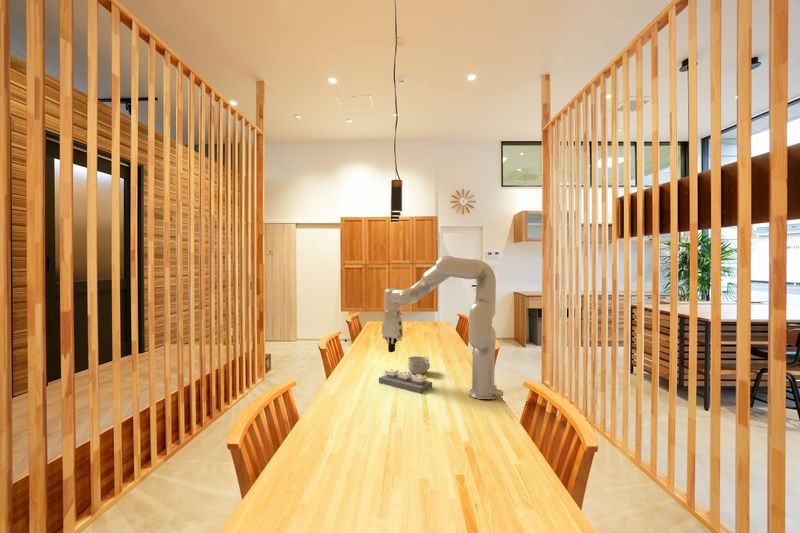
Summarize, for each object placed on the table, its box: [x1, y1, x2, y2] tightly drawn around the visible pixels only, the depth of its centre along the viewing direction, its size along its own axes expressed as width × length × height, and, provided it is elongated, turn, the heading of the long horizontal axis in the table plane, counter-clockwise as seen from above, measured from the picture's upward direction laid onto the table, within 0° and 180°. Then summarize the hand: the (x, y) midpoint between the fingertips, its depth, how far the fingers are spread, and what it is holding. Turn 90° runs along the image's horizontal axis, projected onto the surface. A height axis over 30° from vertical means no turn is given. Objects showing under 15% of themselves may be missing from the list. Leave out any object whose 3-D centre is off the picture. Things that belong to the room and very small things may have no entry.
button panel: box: [378, 374, 433, 395], centre depth 175 cm, size 24×10×2 cm, turn 54°
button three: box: [398, 370, 413, 382], centre depth 175 cm, size 5×5×4 cm
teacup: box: [407, 355, 431, 375], centre depth 192 cm, size 14×11×8 cm
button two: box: [412, 374, 428, 385], centre depth 170 cm, size 5×5×4 cm
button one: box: [384, 367, 400, 379], centre depth 179 cm, size 5×5×4 cm
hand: (391, 351), depth 179 cm, fingers closed
